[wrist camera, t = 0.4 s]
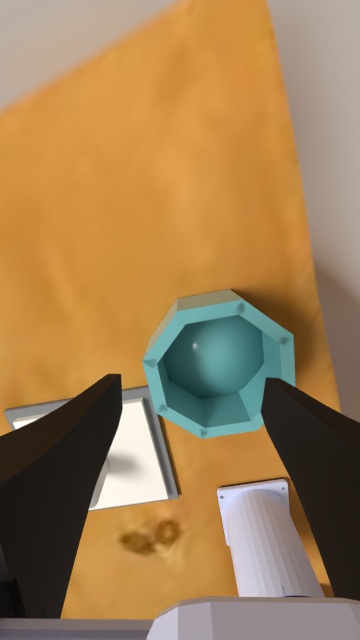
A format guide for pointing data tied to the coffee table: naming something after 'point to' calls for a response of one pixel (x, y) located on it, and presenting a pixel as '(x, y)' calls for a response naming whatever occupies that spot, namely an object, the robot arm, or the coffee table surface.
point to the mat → (126, 395)
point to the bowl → (216, 363)
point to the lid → (126, 461)
